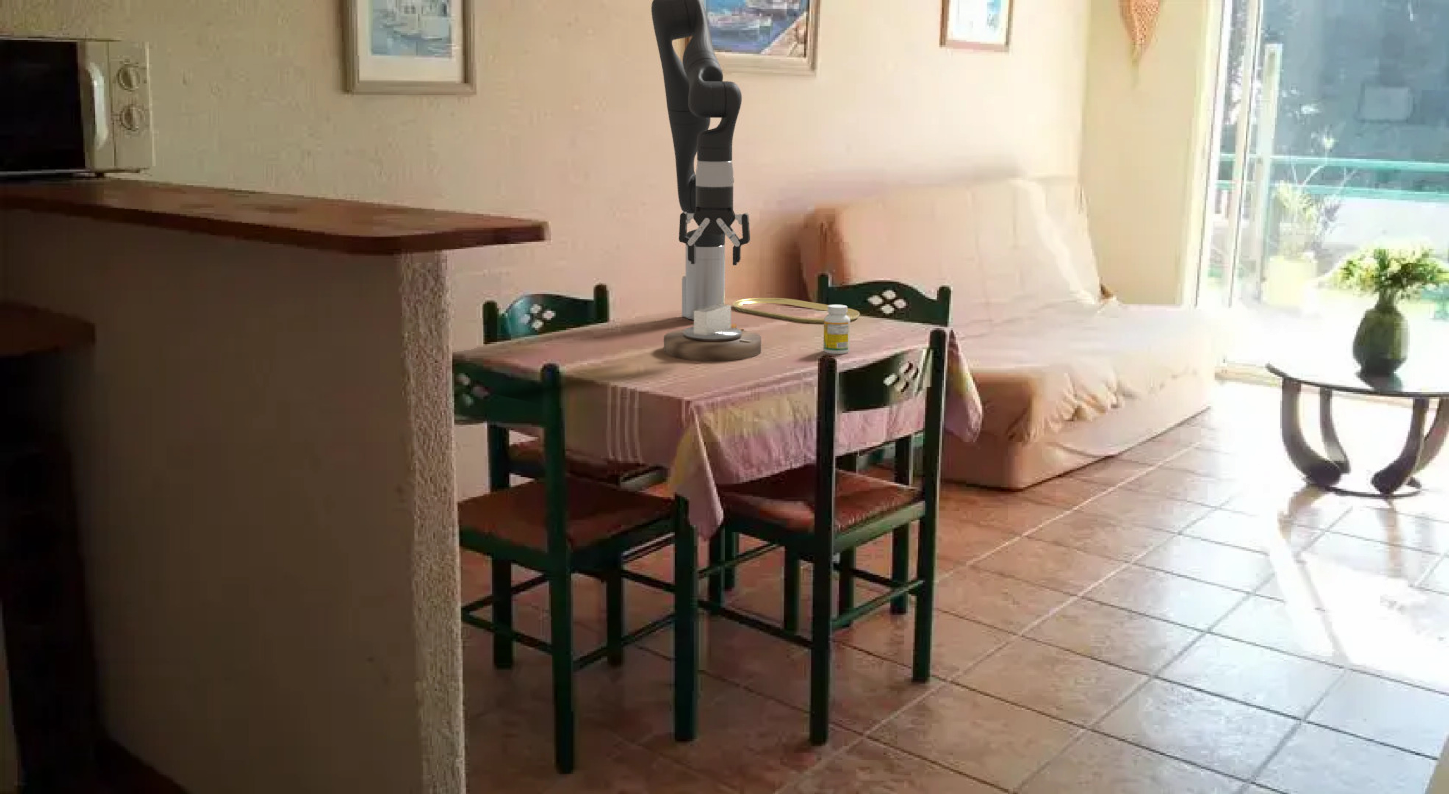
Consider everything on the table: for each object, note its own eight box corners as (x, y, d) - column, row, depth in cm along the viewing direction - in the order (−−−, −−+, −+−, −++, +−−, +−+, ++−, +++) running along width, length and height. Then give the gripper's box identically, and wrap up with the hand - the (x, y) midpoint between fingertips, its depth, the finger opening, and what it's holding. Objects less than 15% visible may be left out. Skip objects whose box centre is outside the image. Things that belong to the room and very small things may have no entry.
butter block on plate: (723, 343, 257) (723, 314, 256) (672, 337, 263) (672, 309, 262) (758, 332, 270) (758, 304, 269) (708, 326, 276) (708, 299, 274)
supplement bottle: (844, 355, 263) (845, 308, 261) (819, 353, 265) (820, 306, 263) (852, 350, 268) (854, 305, 266) (828, 348, 270) (829, 303, 268)
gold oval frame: (769, 301, 332) (769, 295, 331) (875, 319, 307) (875, 312, 307) (716, 309, 319) (716, 303, 318) (823, 328, 295) (823, 321, 294)
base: (644, 352, 264) (643, 336, 264) (704, 338, 280) (704, 323, 279) (720, 365, 252) (720, 348, 252) (779, 349, 268) (780, 334, 267)
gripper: (676, 184, 255) (676, 266, 259) (747, 185, 254) (747, 267, 257) (682, 181, 263) (682, 260, 266) (751, 182, 261) (751, 262, 265)
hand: (714, 264), depth 262 cm, fingers open, 8 cm apart
